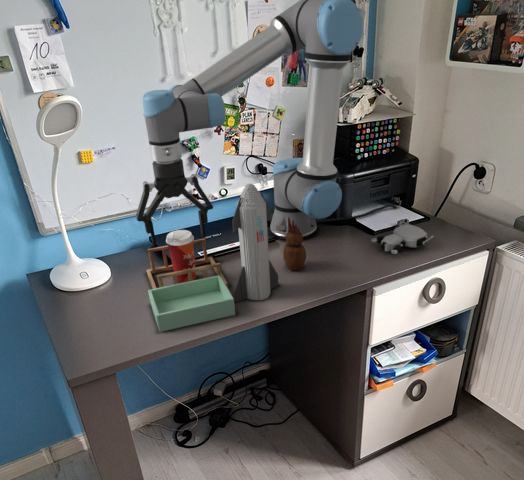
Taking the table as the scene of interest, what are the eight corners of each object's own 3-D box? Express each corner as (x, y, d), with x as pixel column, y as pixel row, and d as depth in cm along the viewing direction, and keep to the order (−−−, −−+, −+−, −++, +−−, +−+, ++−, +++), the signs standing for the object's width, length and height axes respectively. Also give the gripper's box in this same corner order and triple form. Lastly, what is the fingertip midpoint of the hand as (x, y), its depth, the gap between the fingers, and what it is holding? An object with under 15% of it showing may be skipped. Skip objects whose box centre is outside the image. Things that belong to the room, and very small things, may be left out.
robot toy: (394, 263, 154) (434, 247, 158) (395, 249, 151) (435, 233, 156) (368, 248, 163) (407, 233, 167) (368, 234, 160) (407, 219, 164)
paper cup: (195, 287, 147) (188, 241, 139) (169, 286, 149) (160, 240, 140) (203, 274, 153) (197, 229, 145) (178, 273, 155) (170, 228, 146)
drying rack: (212, 260, 160) (209, 237, 156) (228, 287, 146) (225, 262, 142) (147, 273, 156) (142, 249, 151) (157, 302, 142) (152, 277, 137)
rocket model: (271, 280, 148) (266, 173, 130) (286, 290, 143) (282, 181, 125) (228, 296, 142) (216, 187, 124) (242, 307, 137) (232, 195, 119)
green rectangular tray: (221, 290, 145) (219, 274, 142) (235, 314, 135) (233, 298, 132) (151, 305, 141) (147, 289, 138) (159, 332, 130) (156, 315, 127)
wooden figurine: (280, 265, 155) (278, 217, 146) (297, 260, 157) (296, 212, 148) (292, 275, 150) (290, 225, 141) (309, 269, 152) (309, 220, 143)
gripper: (118, 171, 125) (135, 253, 137) (219, 156, 131) (226, 236, 143) (114, 162, 131) (131, 241, 143) (212, 149, 136) (219, 226, 149)
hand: (179, 239), depth 143 cm, fingers open, 13 cm apart
